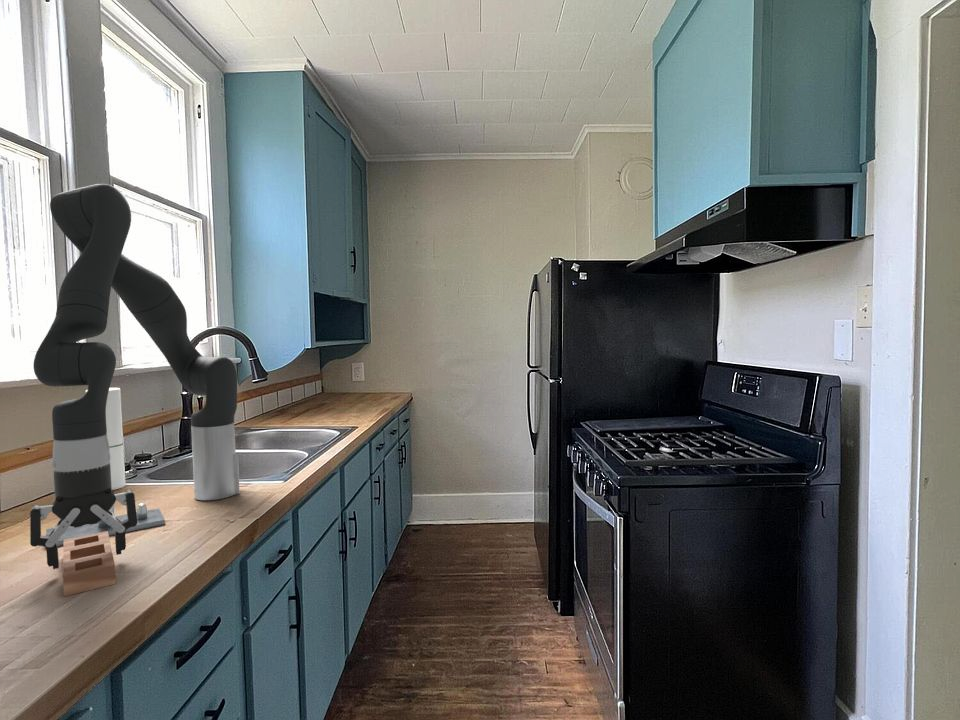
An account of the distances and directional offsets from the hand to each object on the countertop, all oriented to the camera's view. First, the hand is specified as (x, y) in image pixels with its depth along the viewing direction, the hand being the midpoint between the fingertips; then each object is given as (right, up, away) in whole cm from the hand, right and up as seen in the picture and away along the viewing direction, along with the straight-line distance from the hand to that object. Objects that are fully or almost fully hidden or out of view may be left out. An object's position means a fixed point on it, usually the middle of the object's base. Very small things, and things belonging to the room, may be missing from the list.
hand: (88, 560), depth 89 cm
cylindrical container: (-29, +1, +47) cm, 55 cm away
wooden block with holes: (0, -2, 0) cm, 2 cm away
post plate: (-9, -1, +18) cm, 20 cm away
